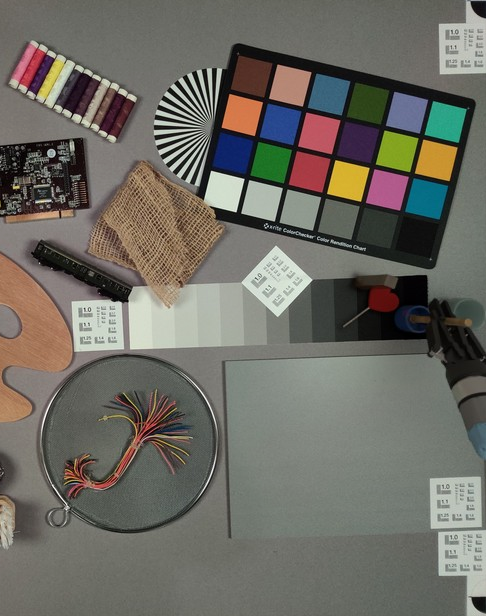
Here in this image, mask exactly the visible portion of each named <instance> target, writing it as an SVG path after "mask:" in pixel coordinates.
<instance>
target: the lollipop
mask: <svg viewBox="0 0 486 616" xmlns="http://www.w3.org/2000/svg"><path fill="white" fill-rule="evenodd" d="M391 290H392V289H369V291H368V292H369V293H368V297H367V298H368V299H367V300H368V301H367V306H368V307H366V308H365V309H364V310H363V311H361V312H360V313H358V314H357V315H356V316H354V317H353V318H352V319H350V320H349V321H347V322H346V323H344V325H342V327H343V328H345V327H346V326H348V325H350V323H351V322H353V321H354V320H356V319H358V317H360V316H361V315H362V314H364V313H365V312H367V311H368V310H373V311H376V312H380V313H381V312H382V313H389V312H393V311H395V310H396V309H397V308H398V307H399V304H400V299H399V297H398V296H397V294H396V293H393V292H391Z"/></svg>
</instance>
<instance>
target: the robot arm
mask: <svg viewBox="0 0 486 616" xmlns="http://www.w3.org/2000/svg"><path fill="white" fill-rule="evenodd" d="M442 300H443V302H442V303H441V304H440V303H439V301H440V300H439V299H438V298H437V297H433V299H432V300H431V301H430V302H429V303H428V304H427V307H426V308H428V309H429V312H430V313H429V317H430V319H431V321H430V322H429V323H428V324H427V325H426V326H425V332H424V333H425V337H426V342H427V347H428V351H427V353H426V356H427V357H428V358H430V359H433V358H434V357H435V358H436V359H438V360H440V364H441V365H443V367H444V368H445V380H446V382H447V385H448V387H449V390H450V391H451V394H452V397H453V399H454V402H455V404H456V407H457V409H458V412H459V414H460V416H461V419H462V421H463V425H464V427H465V431H466V434H467V438H468V440H469V442H470V443H471V444H472V447H473V450H474V451H475V453H476V455H477V456H478V457H479V458H480V459H483V460H484V461H486V350H485V348H484V347H483V346H482V344H481V343H480V340H478V338H477V336H476V335H475V333H474V331H472V330H471V329H470V328H469V327H467V326H466V327H463V326H455V325H445V323H444V321H445V320H446V318H456V316H455V314H453V313H452V311H451V308H450V306H449V304H448V302H447V301H446V300H444V299H442ZM450 328H451V329H450ZM449 329H450V330H449Z"/></svg>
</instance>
